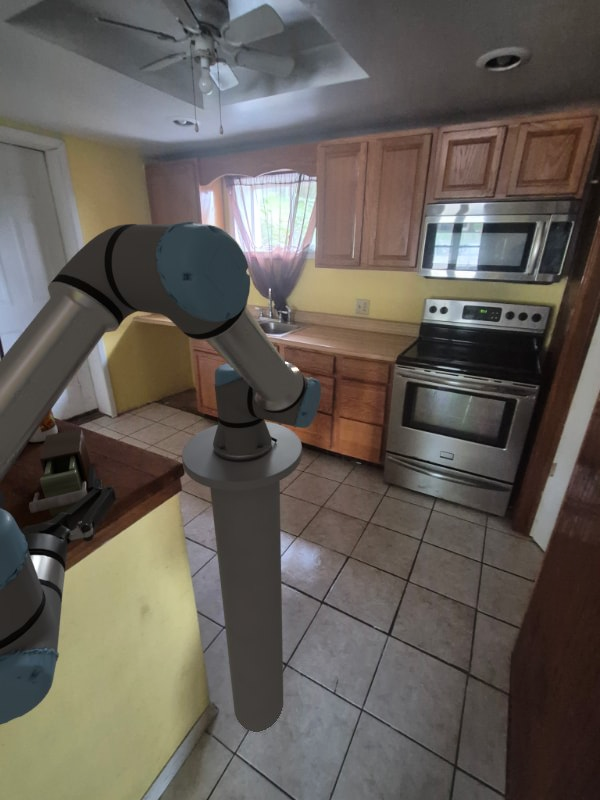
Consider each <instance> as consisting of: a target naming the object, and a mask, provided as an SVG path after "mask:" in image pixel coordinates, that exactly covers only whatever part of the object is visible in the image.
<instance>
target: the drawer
mask: <svg viewBox="0 0 600 800" xmlns="http://www.w3.org/2000/svg"><path fill="white" fill-rule="evenodd" d="M43 475H44V476H41V477H39V483H40V486H41V489H42V492H43V495H44V498H41V499H39V498H40V492H35V493H34V496H33V501H29V504H28V508H29V511H30V513H31V514H34V513H39V512H42V511H46V510H48V511H49V514H50V516H51V517H55V516H57V515H58V514H59V513H61V512H63V513H65V512H66V511H67V510H68V509H70V508H71V507H72V506H73V505H74V504H76V503H77V502H78V501H79V500H81V499H82V498H83V497H84V496H85V495H87V494H88V491H87V490H86V482H84V479H83V475H82V471H81V468H80V464H79V460H78V457H77V454H75V455H71V456H66V457H61V458H56V459H51V460H48V461H47V465H46V469H45V473H44V472H43Z"/></svg>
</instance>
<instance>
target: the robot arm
mask: <svg viewBox="0 0 600 800" xmlns="http://www.w3.org/2000/svg"><path fill="white" fill-rule="evenodd" d="M248 269H249V263H248V261H247V257H246V255H245V253H244V251H243V249H242V247H241V246H240V244H239V243H238V241H237V240H236V239H235V238H234V237H233V236H232V235H231V234H230V233H229V232H228V231H226V230H224V229H222V228H220V227H218V226H215V225H212V224H205V223H199V222H194V221H183V222H179V223H147V224H144V223H143V224H137V223H127V224H126V223H125V224H118V225H115V226H113V227H110V228H107V229H105V230H104V231H102V232H101V233H99V234H97V235H96V236H94V237H93V238H92V239H90V240H89V241H88V242H87V243H86V244H85V245H83V246H82V247H81V249H79V250H78V251H77V252H76V253H75V254H74V255H73V256H72V257H71V258H70V259H69V260H68V262H67V263H66V264H65V265H64V266H63V267H62V268H61V269H60V271H59V272H58V273H57V274H56V275H55V277H54V278H53V279H52V281H50V283H49V284H48V285H47V291H48V294H49V299H48V301H46V303H45V304H44V305H43V307H42V308H41V309H40V310H39V312H38V313H37V314H36V315H35V317H34V318H33V319H32V320H31V322H30V323H29V324H28V325H27V327H26V328H25V329H24V331H23V332H22V333H21V334H20V336H19V337H18V338H17V339H16V340H15V341H14V343H13V344H12V345H11V347H10V348H9V349H8V350H7V352H6V353H5V354H4V355H3V357H1V359H0V483H1V482H2V480H3V479H4V477H5V476H6V475H7V473H8V472H9V470H10V469H11V467H12V466H13V465H14V463H15V462H16V461H17V459H18V458H19V456H20V455H21V453H22V452H23V451H24V449H25V448H26V446H27V445H28V444H29V440H30V439H31V438H32V436H33V435H34V433H35V432H36V430H37V429H38V428H39V426H40V425H41V423H42V422H43V420H44V419H45V418H46V416H47V415H48V413H49V412H50V410H51V409H52V410H53V407H54V406H56V403H57V402H58V400H59V399H60V398H61V396H62V395H63V393H65V390H67V388H68V386H69V385H70V383H72V381H73V379H74V378H75V377H76V375H77V373H78V372H79V371H80V369H81V368H82V366H83V365H84V363H85V362H86V360H87V359H88V358H89V357H90V355H91V353H92V352H93V351H94V349H95V348H96V346H97V345H98V344H99V342H100V341H101V339H102V338H103V336H104V335H105V334H106V333H111V332H116V331H117V330H118V329H119V327H120V326H121V324H122V323H123V322H124V320H125V319H126V318H128V317H129V316H131V315H133V314H135V313H137V312H140V313H148V314H155V315H157V314H158V315H162V316H164V317H165V318H167V319H168V320H169V321H171V322H172V324H174V325H175V327H177V328H178V329H179V330H180V331H181V332H182V333H183V335H185V336H186V337H187V338H190V339H192V340H196V341H205V342H206V343H207V344H208V345H209V346H210V347H211V348H212V349H213V350H214V351H215V352H216V353H217V354H218V355H219V356H220V357H221V358H222V359H223V361H225V363H224V364H221V365H220V366H218V367H217V368H216V369H215V371H214V384H213V386H214V391H215V392H214V393H215V403H216V411H217V425H218V426H217V430H216V434H215V437H214V441H213V448H214V453H215V454H216V455H217V456H218V457H219V458H221V459H223V460H226V461H231V462H248V461H253V460H256V459H259V458H261V457H263V456H265V455H266V454H268V453H269V451H270V450H271V448H272V440H273V441H275V442H277V439H275V438H273V437H271V435H270V433H269V430H268V428H267V425H266V423H265V422H266V421H268V422H272V423H276V424H280V425H281V424H282V425H286V426H291V427H293V428H301V429H306V428H308V427H310V426H311V425H312V423H313V422H314V420H315V418H316V416H317V413H318V410H319V406H320V402H321V396H322V384H321V382H320V380H319V379H317V378H314V377H312V376H311V377H307V376H304V375H303V373H302V372H301V370H300V369H299V368H298V367H297V366H296V365H294V364H293V363H291V362H287V361H285V360H284V358H283V356H282V355H281V354H280V352H279V351H278V349H277V348H276V347H275V345H274V344H273V342H272V341H271V340H270V338H269V336H268V335H267V334H266V332H265V331H264V329H263V328H262V327H261V325H260V324H259V322H258V321H257V319H256V318H255V316H254V315H253V313H252V312H251V310H250V309H249V308H248V306H247V305H248V300H249V295H250V292H251V291H250V289H251V275H250V274H248V273H247V272H248ZM104 487H105V486H104V482H103V479H102V478H98V477H97V474H96V470H95V466H91V467H90V468H89V479H88V489H89V491H88V492H87V495H85V496H84V497H83V498H82V499H81V500H79V501H78V502H77V503H76V504H74V505H73V506H72V507H71V508H70V509H68V510H67V511H66V512H65V513H63V512H61V513H59V514H58V515H55V516H53V518H51V519H49V520H45V521H41V522H39V523H36V524H30V525H29V524H28V525H25V526H24V527H23V528H21V529H20V528H19V526H18V523H17V522H16V520H15V518H14V516H13V515H12V514H11V513H10V512H9V511H7V510H5V509H4V505H5V503H6V498H5V496H4V494H3V491H2V488H1V487H0V726H1V725H5V724H7V723H9V722H10V721H13V720H15V719H17V718H21V717H23V716H25V715H27V714H28V713H30V712H31V711H33V709H35V708H37V706H38V705H40V704H41V703H42V702H43V701H44V699H45V698H46V697H47V695H48V694H49V692H50V690H51V688H52V686H53V683H54V679H55V678H54V677H55V672H56V666H57V662H58V659H59V657H60V653H59V651H58V648H59V639H60V638H59V637H60V628H61V627H60V626H61V616H62V605H63V594H64V585H65V576H66V569H67V568H66V567H67V556H68V547H69V545H70V544H71V543H72V541H74V540H78V539H83V541H84V542H85V543H86V542H91V541H92V540H93V539H94V537H95V532H96V530H97V528H98V526H99V525H100V523H101V522H102V521H103V519H104V518H105V516H106V515H107V514H108V513H109V511H110V509H111V508H112V506H113V505H114V504H115V502H116V501H117V495H116V491H115V488H114V486H113V485H107V486H106V487H105V488H104Z"/></svg>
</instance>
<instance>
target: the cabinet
mask: <svg viewBox="0 0 600 800" xmlns="http://www.w3.org/2000/svg"><path fill="white" fill-rule="evenodd" d="M75 454H77V457H78V460H79V464H80V468H81V471H82V475H83V479H84V482H86V490H87V492H89V489H88V479H89V468H90V467H92V464H91V459H90V456H89V452H88V447H87V444H86V440H85V435H84V433H83V429H82V428H80V429H75V430H68V431H64V432H63V431H62V432H58V433H57V434H51V435H46V438H45V441H43V445H42V449H41V453H40V456H39V461H40V464H41V468H42V471H43V474H44V473H45V469H46V465H47V461H48V460H51V459H56V458H61V457H66V456H71V455H75Z"/></svg>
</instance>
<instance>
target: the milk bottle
mask: <svg viewBox="0 0 600 800" xmlns="http://www.w3.org/2000/svg"><path fill="white" fill-rule="evenodd" d="M57 433H59V432H58V426H57V423H56V419H55V416H54V412H53V408H52V409H51V410H50V412H49V413H48V415H47V416H46V418H45V419H44V420H43V422H42V423H41V425H40V426H39V428H38V429H37V430H36V432H35V433H34V435H33V436H32V438H31V439H30V440H29V442H30V443H40V442H45V438H46V435H51V434H57ZM29 442H28V443H29Z"/></svg>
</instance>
